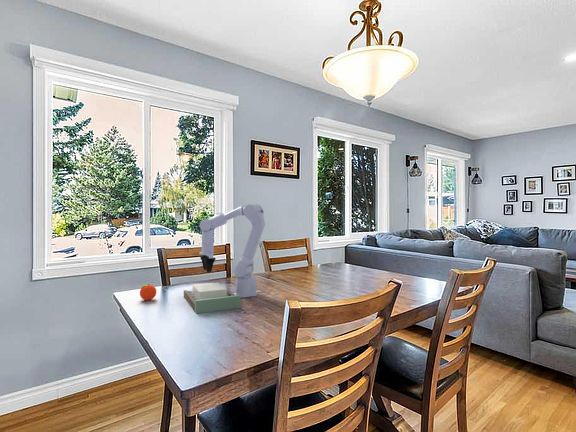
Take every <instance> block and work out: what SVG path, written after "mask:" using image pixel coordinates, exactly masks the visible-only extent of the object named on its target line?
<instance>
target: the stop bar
mask: <svg viewBox="0 0 576 432" xmlns="http://www.w3.org/2000/svg"><path fill="white" fill-rule="evenodd" d="M240 297H241V296H240V295H234V294H233V295H232V296H224V297H215V298H206V299H197V300H195V312H194V313H195V314H203V313H210V312H218V311H224V310H233V309H240V308H241V298H240Z"/></svg>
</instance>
